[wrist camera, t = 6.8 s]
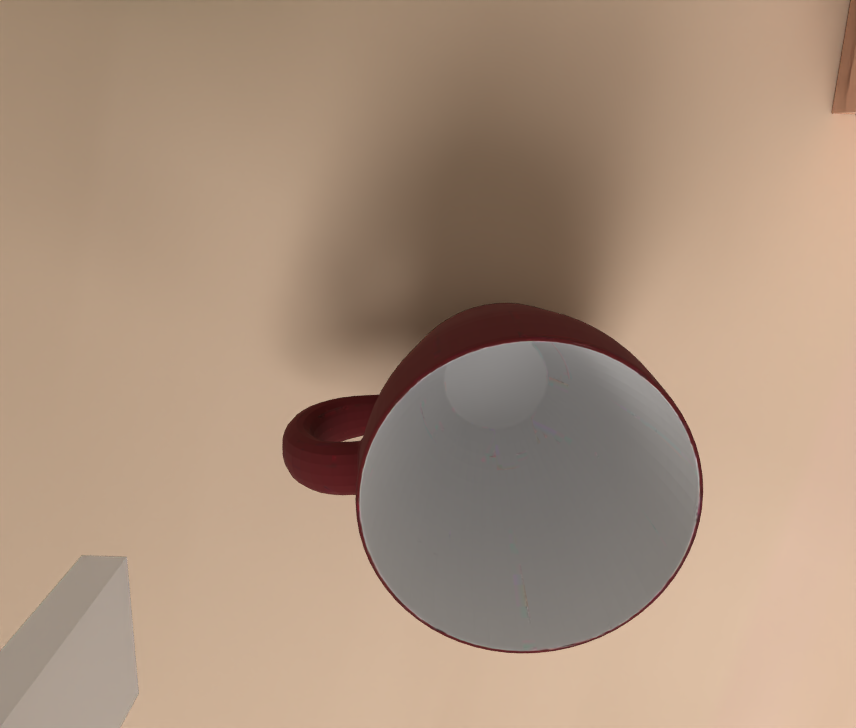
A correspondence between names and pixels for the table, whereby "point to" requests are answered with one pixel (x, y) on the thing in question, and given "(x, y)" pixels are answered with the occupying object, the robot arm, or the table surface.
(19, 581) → the table surface
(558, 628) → the mug
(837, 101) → the tan open box
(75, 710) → the robot arm
